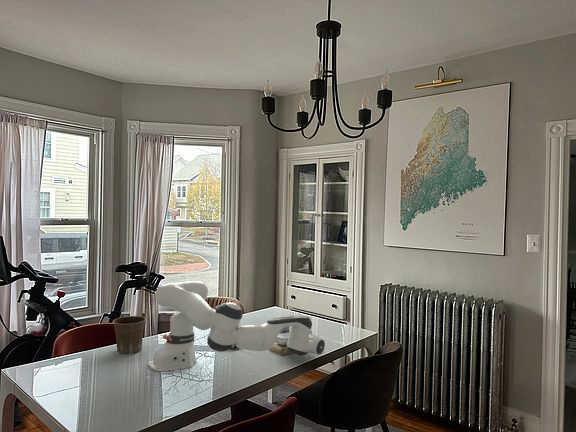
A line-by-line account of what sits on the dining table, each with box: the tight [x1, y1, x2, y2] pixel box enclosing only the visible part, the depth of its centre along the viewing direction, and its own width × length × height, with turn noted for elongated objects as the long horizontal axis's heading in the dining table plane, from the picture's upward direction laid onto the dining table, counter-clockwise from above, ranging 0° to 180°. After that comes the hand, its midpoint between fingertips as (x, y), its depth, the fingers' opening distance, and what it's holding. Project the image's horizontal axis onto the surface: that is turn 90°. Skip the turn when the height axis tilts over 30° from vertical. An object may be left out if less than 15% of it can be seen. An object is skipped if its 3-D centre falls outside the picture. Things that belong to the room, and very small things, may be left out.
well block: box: [268, 342, 292, 356], centre depth 238 cm, size 12×10×3 cm
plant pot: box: [112, 315, 147, 355], centre depth 234 cm, size 16×16×16 cm
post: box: [279, 326, 290, 347], centre depth 238 cm, size 4×4×13 cm
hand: (282, 333), depth 238 cm, fingers closed on post, 4 cm apart
